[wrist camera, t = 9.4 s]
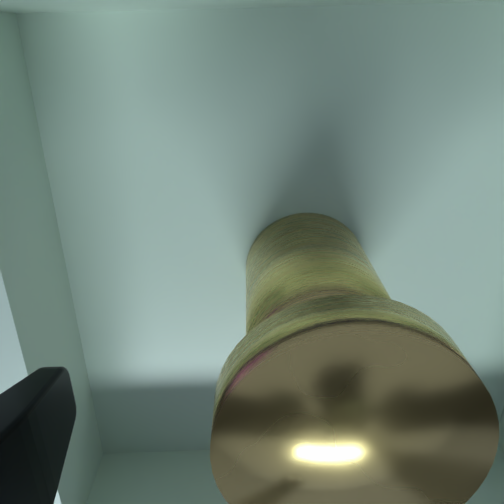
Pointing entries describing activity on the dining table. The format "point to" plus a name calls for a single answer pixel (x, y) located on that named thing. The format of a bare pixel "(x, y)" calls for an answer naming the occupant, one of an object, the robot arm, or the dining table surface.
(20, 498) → the robot arm
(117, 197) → the parts tray
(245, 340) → the pin
